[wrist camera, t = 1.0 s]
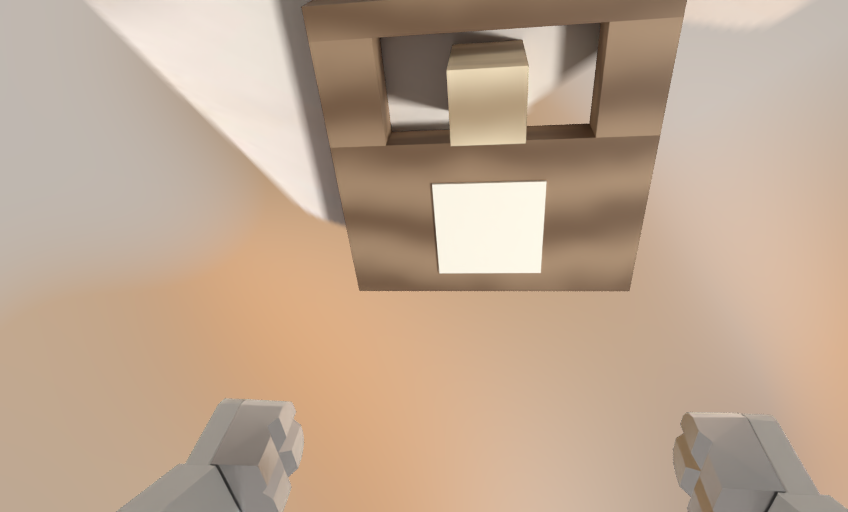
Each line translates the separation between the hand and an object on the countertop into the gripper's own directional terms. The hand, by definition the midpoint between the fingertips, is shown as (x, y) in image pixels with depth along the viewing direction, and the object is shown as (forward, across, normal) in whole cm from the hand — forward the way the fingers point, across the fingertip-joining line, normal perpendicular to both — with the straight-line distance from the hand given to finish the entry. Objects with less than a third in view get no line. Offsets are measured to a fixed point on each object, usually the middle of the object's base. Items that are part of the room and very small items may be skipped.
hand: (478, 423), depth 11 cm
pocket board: (+28, 0, +6) cm, 29 cm away
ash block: (+28, 0, 0) cm, 28 cm away
